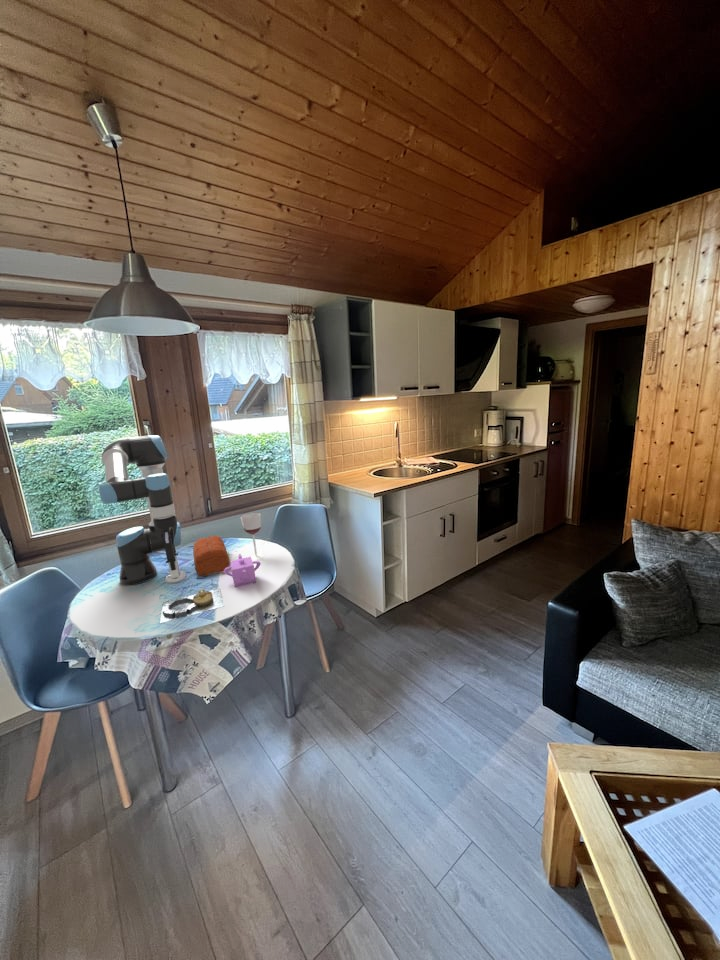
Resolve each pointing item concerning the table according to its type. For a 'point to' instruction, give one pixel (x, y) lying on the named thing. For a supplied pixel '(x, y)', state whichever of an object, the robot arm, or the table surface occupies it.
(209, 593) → the gold cymbal
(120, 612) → the table surface
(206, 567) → the bread
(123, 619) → the table surface
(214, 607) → the carrier plate
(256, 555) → the wineglass
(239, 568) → the teapot
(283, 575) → the table surface
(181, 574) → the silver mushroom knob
